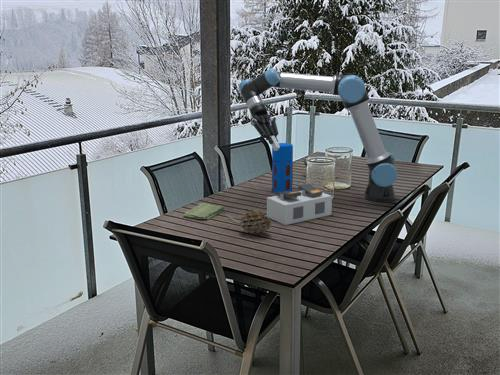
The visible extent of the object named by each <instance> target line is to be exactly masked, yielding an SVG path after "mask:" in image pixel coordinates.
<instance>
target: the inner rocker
mask: <svg viewBox="0 0 500 375" xmlns="http://www.w3.org/2000/svg"><path fill="white" fill-rule="evenodd" d="M297 188H298V189H299V190H300V191H302V190H305V191H306V194H307V195H309V196H310V197H315V196H320V195H322V192H323V191H322V190H320V189H319V188H318V187H316V188H315V186H314V185H313V184H311V183H305V184H300V185H298V187H297ZM317 188H318V189H317Z"/></svg>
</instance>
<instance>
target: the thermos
mask: <svg viewBox="0 0 500 375" xmlns="http://www.w3.org/2000/svg"><path fill="white" fill-rule="evenodd" d="M278 144H279V146H280V148H279V149H278V151H274V149H273V147H271V189H272V191H271V192H273V193H274V194H275V193H276V194H277V193H279V192H284V191H293V179H294V178H293V173H294V172H293V171H294V170H293V168H294V167H293V166H294V164H293V163H294V160H293V159H294V145H293V143H288V142H287V143H286V142H278Z"/></svg>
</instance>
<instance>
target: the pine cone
mask: <svg viewBox="0 0 500 375" xmlns="http://www.w3.org/2000/svg"><path fill="white" fill-rule="evenodd" d="M226 217H227V219H228V220H229V221H231V222H232V223H233V222H234V224H237V225H240V226H241V228H242V229H243V232H245V233H249V234H253V235H254V233H256V234H260V233H261V232H262V233H265V232H267V230H269V229H270V228H271V227H272V219H271V218H269V217H268V216H267V215H265V213H264V212H263V211H261V210H258V209H256V210H252V211H249V212H246V213H244V215H242V216H241V218H240V221H239V220H237V219H235V218H234V217H232V216H231V215H229V213H227V214H226ZM270 219H271V220H270Z"/></svg>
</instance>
